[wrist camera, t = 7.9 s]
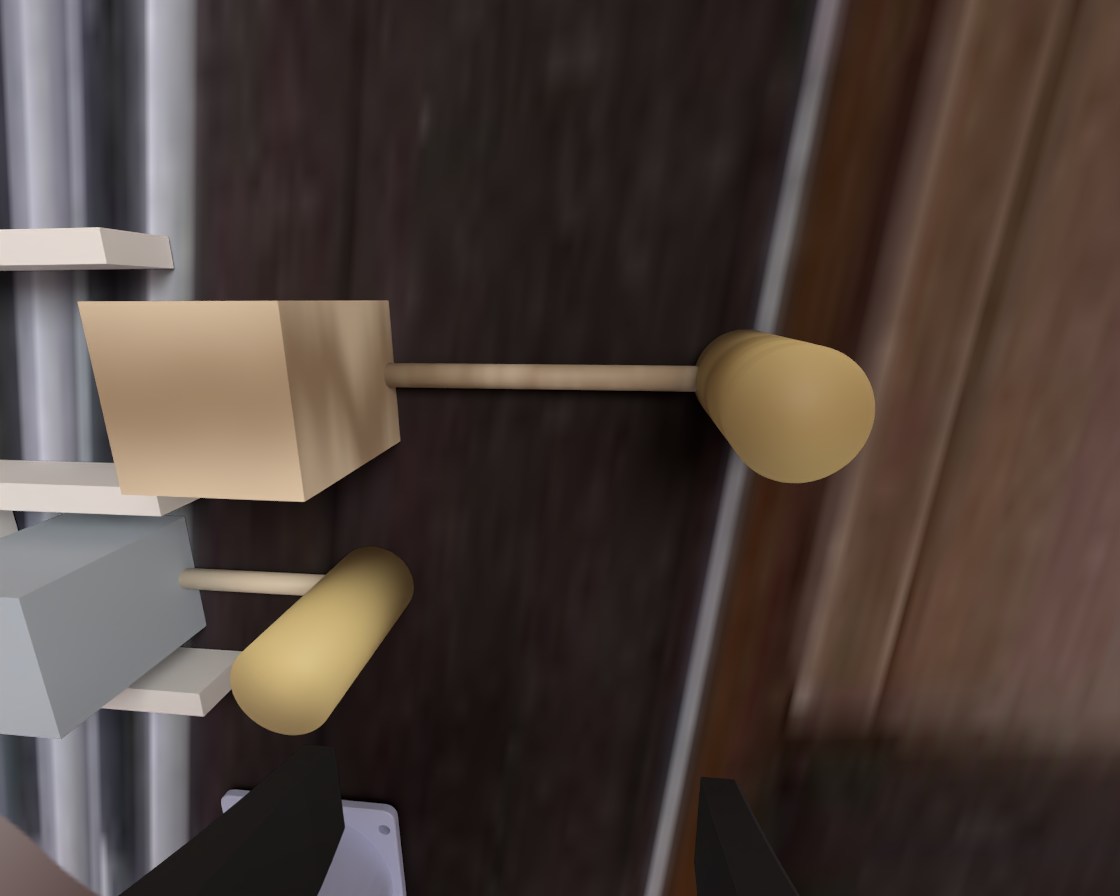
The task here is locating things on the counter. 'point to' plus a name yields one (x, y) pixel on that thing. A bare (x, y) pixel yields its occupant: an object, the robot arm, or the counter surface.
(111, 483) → the rack
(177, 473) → the beige long piece
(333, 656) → the grey handled block
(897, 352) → the counter surface
